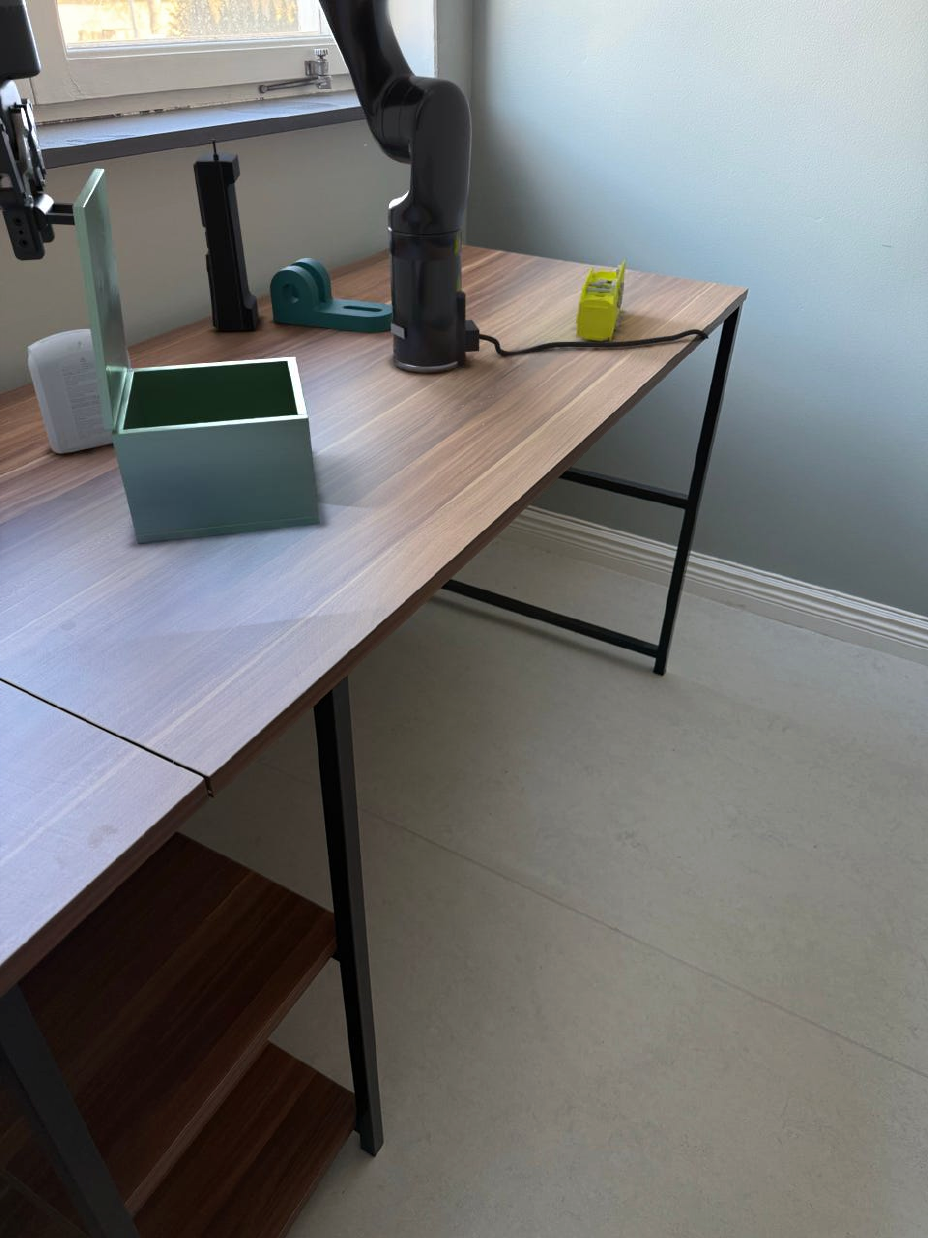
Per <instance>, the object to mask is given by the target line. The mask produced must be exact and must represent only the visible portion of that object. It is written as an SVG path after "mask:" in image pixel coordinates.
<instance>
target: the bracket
mask: <svg viewBox="0 0 928 1238" xmlns="http://www.w3.org/2000/svg"><path fill="white" fill-rule="evenodd" d="M269 294H270V303H271V311H272V317H273V319H272V320H273V323H279V324H280V323H281V324H289V325H297V326H308V327H316V328H325V329H334V330H343V331H351V332H361V333H380V332H385V331H389V330H391V323H392V305H390V304H387V303H381V302H371V301H364V300H363V301H362V300H355V299H354V300H353V299H352V300H351V299H342V298H335V297H333V296H332V283H331V278H330V275H329V273H328V271H327V269H326V267H325V266H324V265H323V264H322V263H321V262H319V261H317V260H316V259H313V258H311V257H304V258H300V259H298V260H296V261H295V262H293V263H291V264H290V265H288V266H286V267H284V268H282V269H281V270H279V271H277V272H276V273H275V274H274V275H273V276H272V278H271V280H270V283H269Z"/></svg>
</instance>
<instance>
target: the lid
mask: <svg viewBox="0 0 928 1238" xmlns="http://www.w3.org/2000/svg"><path fill="white" fill-rule="evenodd" d="M107 189H108V188H107V181H106V173H105V169H104V168H94V169H93V170H92V173H91V174H90V176H89V178H88V180H87V181H86V183H85V184H84V186H83V188H82V190H81V191H80V193H79V195H78V197H77V198H76V200H75V201H74V203H71V202H55V201H54V199H52V197H51V196H49V195H48V194H46V193H44V194H43V192H40V193H36V194H34V195H33V196H32V198H33V201H34V203H33V208H34V212H35V216H36V219H37V223H38V227H39V230H40V232H41V231H43V230H44V229H45V228H46V227H47V225H48V224H52V225H57V226H58V225H59V226H60V225H61V226H74V227H75V234H76V241H77V247H78V254H79V260H80V261H79V262H80V269H81V274H82V282H83V288H84V289H83V290H84V295H85V302H86V303H85V304H86V308H87V309H86V310H87V316H88V323H89V324H88V325H89V329H90V331H91V338H92V345H93V352H94V359H95V366H96V372H97V379H98V386H99V393H100V400H101V407H102V414H103V421H104V428H105V429H106V430H114V429H115V425H116V420H117V415H118V410H119V406H120V401H121V396H122V391H123V387H124V382H125V377H126V372H127V368H128V359H127V351H128V349H127V350H126V348H127V345H126V344H127V343H126V336H125V326H124V318H123V311H122V303H121V294H120V287H119V278H118V271H117V270H118V269H117V262H116V254H115V247H114V238H113V231H112V230H113V228H112V223H111V222H112V221H111V213H110V206H109V198H108V197H109V196H108V190H107Z"/></svg>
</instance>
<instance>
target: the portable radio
mask: <svg viewBox="0 0 928 1238" xmlns="http://www.w3.org/2000/svg"><path fill="white" fill-rule="evenodd" d="M210 141H211V142H212V148H213V152H203V153H202V154H201V155H200V156H199V157H198V159H196V160H195V162H194V163H193V173H194V180H195V186H196V193H197V199H198V205H199V211H200V212H199V213H200V220H201V226H202V227H203V228H204V237H205V242H206V249H207V252H206V254H205V256H204V257H205V265H206V266H205V267H206V273H207V278H208V279H207V280H208V287H209V296H210V305H211V317H212V318H211V319H212V326H213V328H216V331H217V332H239V331H241V332H243V331H251V330H256V327H257V325H258V320H259V317H260V316H259V308H258V299H257V296H256V295H254V294H252V293H251V291H250V285H249V280H248V273H247V266H246V259H245V249H244V242H243V237H242V236H243V235H242V228H241V221H240V214H239V206H238V201H237V193H236V192H237V191H236V185H235V183H236V182H237V180H238V179H239V177H240V176H241V170H240V162H239V154H237V153H233V152H232V153H231V152H218V151H217V146H216V141H217V139H214V138H213V139H212V138H211V139H210Z"/></svg>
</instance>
